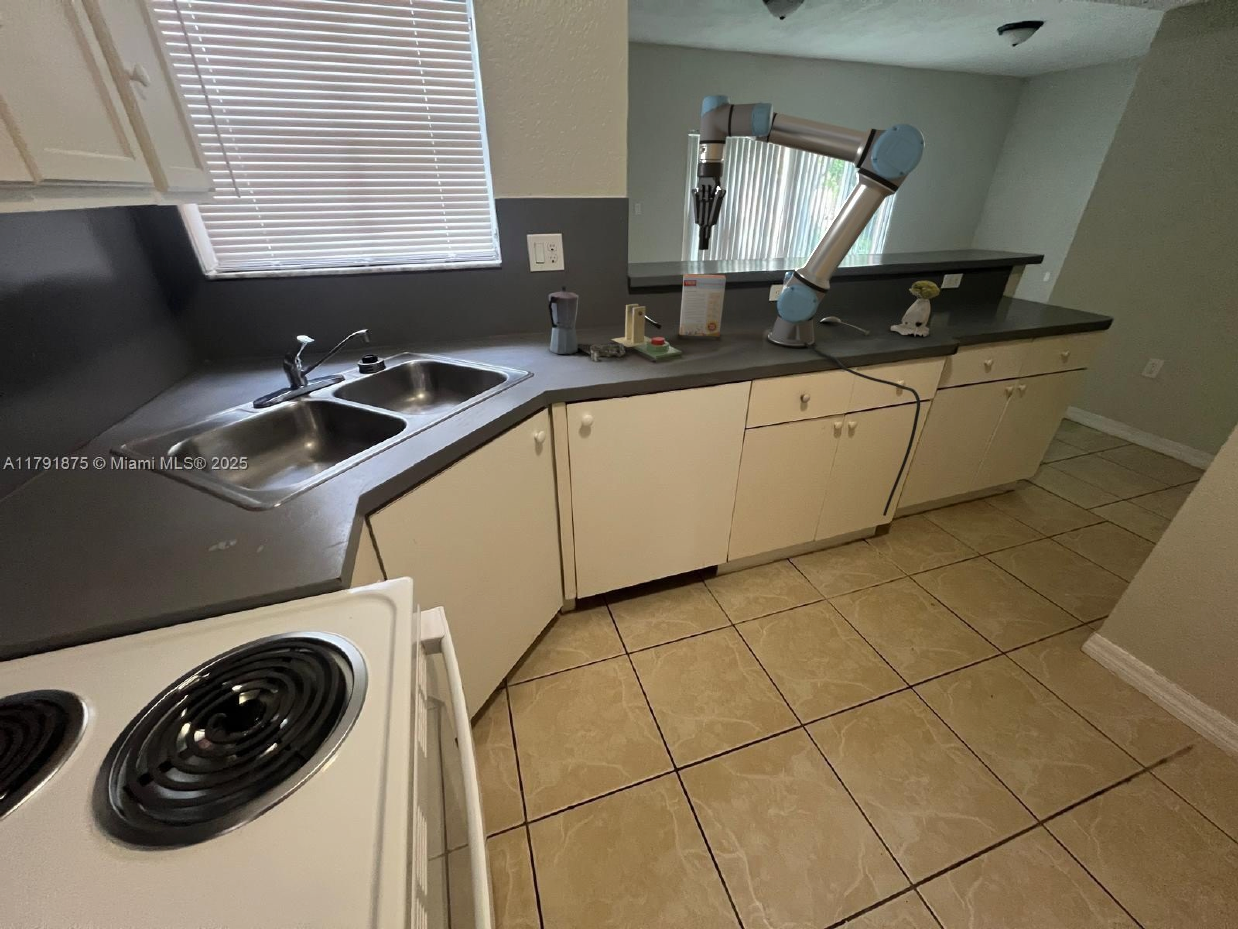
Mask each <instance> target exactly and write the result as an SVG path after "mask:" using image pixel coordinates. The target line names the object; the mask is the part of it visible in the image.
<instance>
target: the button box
mask: <svg viewBox="0 0 1238 929" xmlns="http://www.w3.org/2000/svg"><path fill="white" fill-rule="evenodd" d="M633 349H635V350H636V351H638V352H641V353H642V354H645V355H647V356H649V357H651V358H653V359H655V360H651V362H652V363H654V364H658V363H665V362H668V361H669V362H670V361H674V360H678V359H682V354H683V351H682V350H680V349H678V348H675V347H672V346H671V345H670V342H668V341H666V340H664V345H653V344H652V340H651V341H648V342H647V344H643V345H637V346H633Z"/></svg>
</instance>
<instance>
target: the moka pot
mask: <svg viewBox="0 0 1238 929" xmlns="http://www.w3.org/2000/svg"><path fill="white" fill-rule="evenodd" d="M579 296H580V295H579V294H576V293H575V292H568V291H567V286H565V285H561V291H557V292H552V293H550V294H548V303H547V307H548V312H549V317H550V321H551V337H550V344H549V345H550V346H549V350H550V352H551V353H553V354H559V355H570V354H575V353H577V352H578V350H579V349H578V341H577V331H576V321H577V314H578V306H579V305H578V304H579Z"/></svg>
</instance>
